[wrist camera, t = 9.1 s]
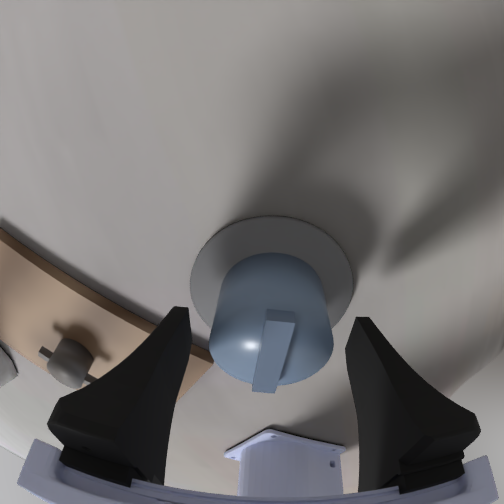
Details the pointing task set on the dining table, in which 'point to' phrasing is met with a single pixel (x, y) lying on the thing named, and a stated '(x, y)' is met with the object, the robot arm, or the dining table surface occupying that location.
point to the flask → (6, 369)
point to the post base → (70, 322)
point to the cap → (271, 322)
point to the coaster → (266, 241)
